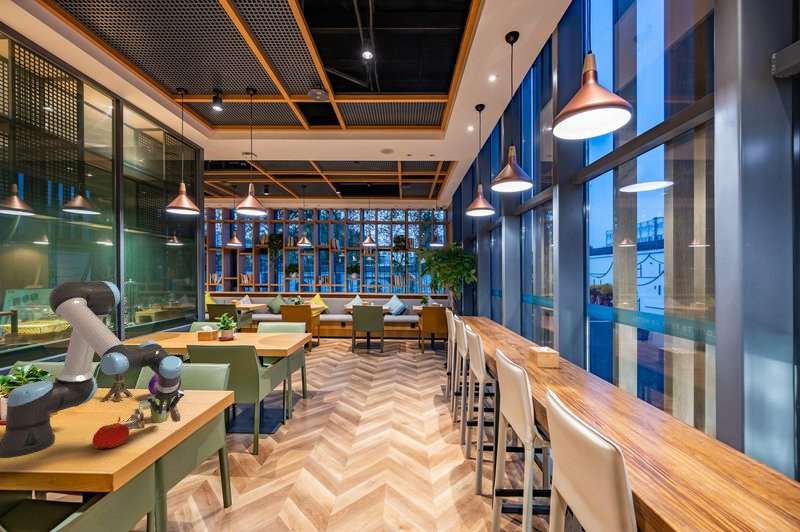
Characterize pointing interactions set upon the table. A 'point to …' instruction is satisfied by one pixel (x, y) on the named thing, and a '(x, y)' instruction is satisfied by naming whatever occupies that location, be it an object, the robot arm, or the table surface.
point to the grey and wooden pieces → (135, 416)
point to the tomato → (110, 436)
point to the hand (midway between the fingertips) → (162, 415)
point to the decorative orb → (153, 384)
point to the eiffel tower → (118, 389)
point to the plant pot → (155, 415)
